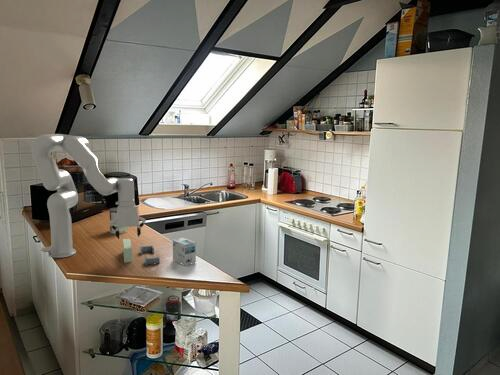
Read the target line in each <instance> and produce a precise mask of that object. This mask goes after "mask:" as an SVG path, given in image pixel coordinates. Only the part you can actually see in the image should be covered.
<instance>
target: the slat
mask: <svg viewBox="0 0 500 375" xmlns="http://www.w3.org/2000/svg"><path fill="white" fill-rule="evenodd" d="M122 252H123V253H122V254H123V261H124V263H132V262H133V247H132V242H131V239H130V238H123V239H122Z"/></svg>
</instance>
